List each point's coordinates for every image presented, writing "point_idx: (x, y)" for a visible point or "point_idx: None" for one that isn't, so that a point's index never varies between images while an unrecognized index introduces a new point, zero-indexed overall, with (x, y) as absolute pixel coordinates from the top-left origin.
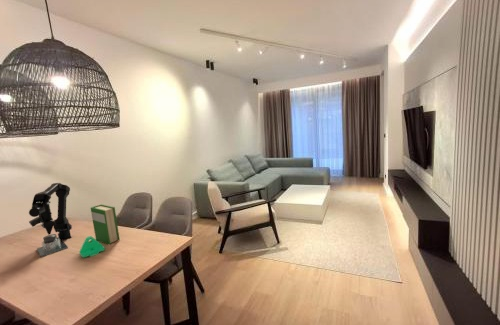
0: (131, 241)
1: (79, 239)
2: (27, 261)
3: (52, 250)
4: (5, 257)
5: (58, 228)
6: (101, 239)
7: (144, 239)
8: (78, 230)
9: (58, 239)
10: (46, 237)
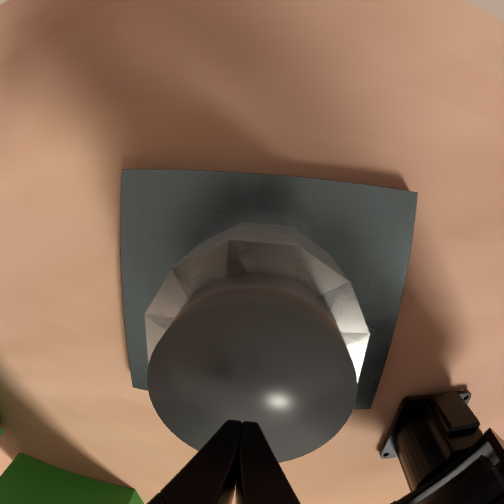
0: None
1: None
2: (145, 66)
3: (155, 283)
4: (463, 4)
5: (450, 494)
6: (64, 483)
7: None
8: None
9: None
10: (237, 352)
